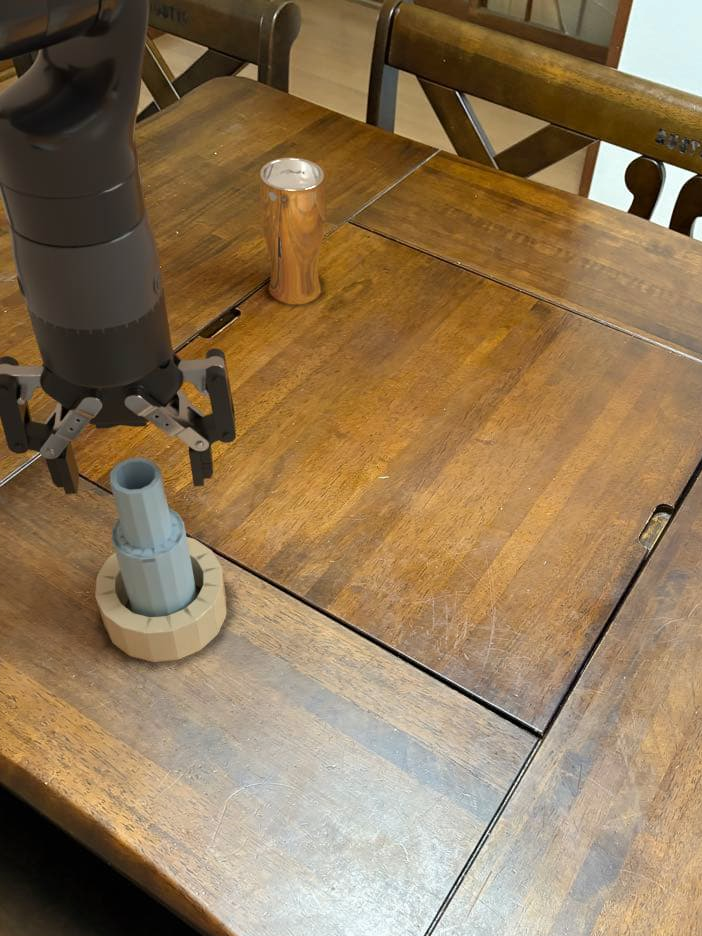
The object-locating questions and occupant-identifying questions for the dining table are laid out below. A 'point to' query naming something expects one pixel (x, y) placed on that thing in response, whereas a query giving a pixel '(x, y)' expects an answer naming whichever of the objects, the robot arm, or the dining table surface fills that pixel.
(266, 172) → the beer glass
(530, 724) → the dining table surface
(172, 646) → the ring
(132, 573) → the bottle
